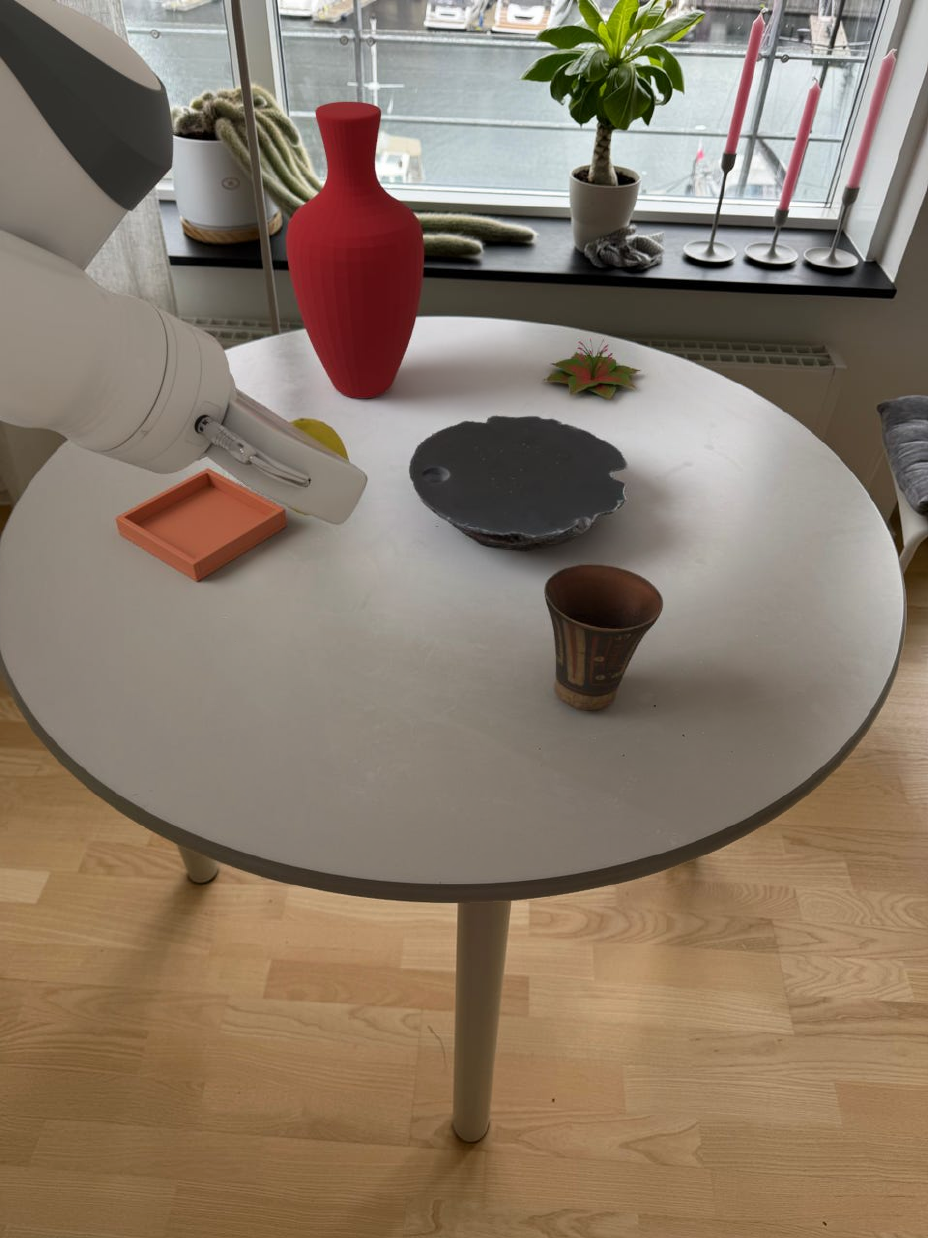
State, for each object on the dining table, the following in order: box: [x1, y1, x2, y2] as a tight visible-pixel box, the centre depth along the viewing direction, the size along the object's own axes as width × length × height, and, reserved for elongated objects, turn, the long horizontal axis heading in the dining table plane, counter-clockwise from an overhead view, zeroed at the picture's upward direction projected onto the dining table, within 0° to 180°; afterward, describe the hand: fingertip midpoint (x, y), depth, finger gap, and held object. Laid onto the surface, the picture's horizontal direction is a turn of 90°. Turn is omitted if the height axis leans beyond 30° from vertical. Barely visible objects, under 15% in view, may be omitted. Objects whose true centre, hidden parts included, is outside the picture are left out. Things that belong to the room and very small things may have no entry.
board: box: [408, 414, 629, 552], centre depth 94 cm, size 22×22×5 cm
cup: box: [543, 563, 664, 711], centre depth 75 cm, size 9×9×10 cm
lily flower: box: [541, 338, 642, 401], centre depth 115 cm, size 12×12×5 cm
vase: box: [285, 101, 425, 399], centre depth 105 cm, size 15×15×30 cm
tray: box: [114, 467, 288, 583], centre depth 92 cm, size 11×11×2 cm
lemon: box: [288, 417, 350, 516], centre depth 67 cm, size 6×6×8 cm
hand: (315, 460), depth 67 cm, fingers closed on lemon, 5 cm apart
